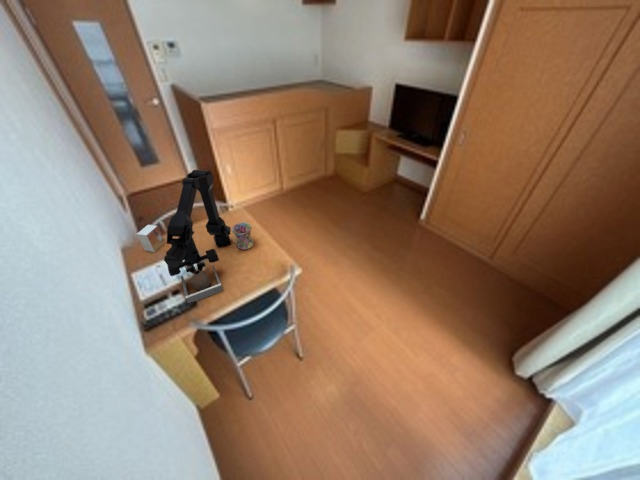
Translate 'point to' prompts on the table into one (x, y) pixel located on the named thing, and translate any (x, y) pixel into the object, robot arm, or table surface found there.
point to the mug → (243, 235)
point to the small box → (151, 238)
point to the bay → (204, 292)
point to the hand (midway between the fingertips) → (199, 275)
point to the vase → (200, 280)
